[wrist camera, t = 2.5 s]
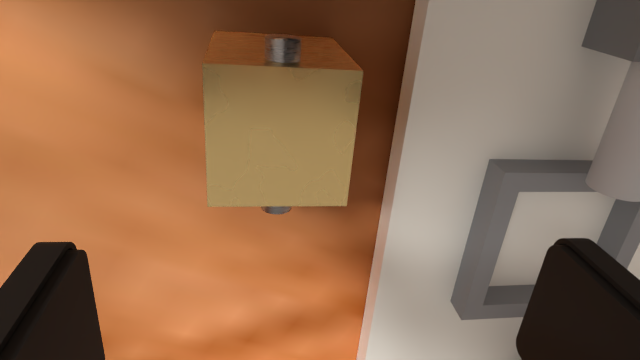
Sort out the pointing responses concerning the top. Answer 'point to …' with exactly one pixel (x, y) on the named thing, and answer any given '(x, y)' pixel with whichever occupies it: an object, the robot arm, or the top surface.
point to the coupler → (279, 120)
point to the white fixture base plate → (501, 168)
